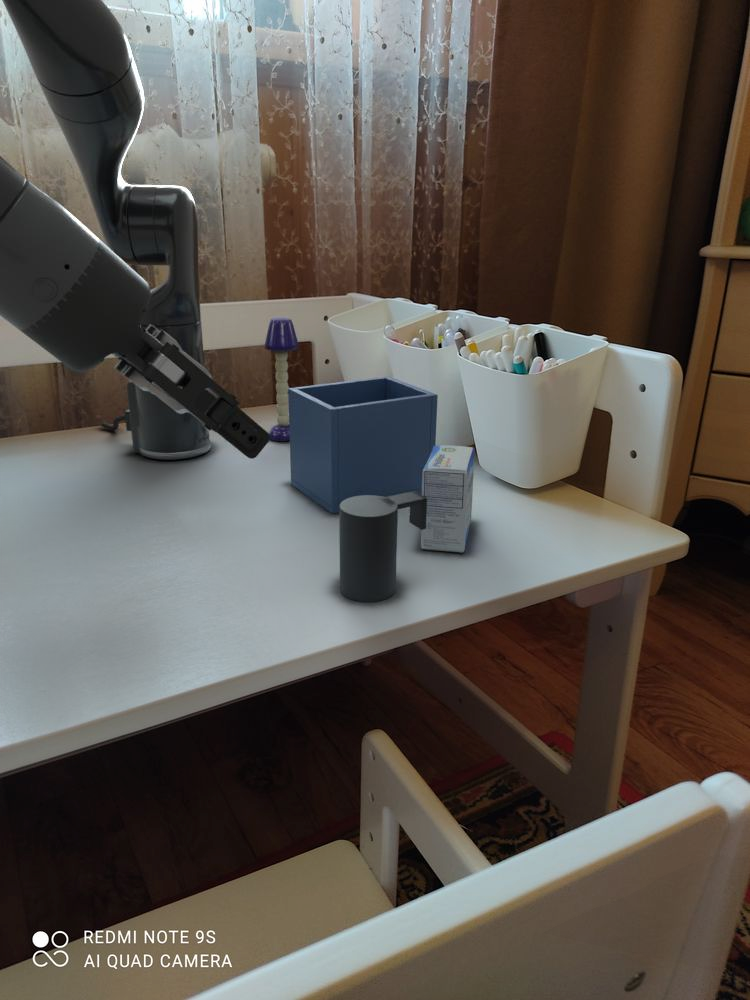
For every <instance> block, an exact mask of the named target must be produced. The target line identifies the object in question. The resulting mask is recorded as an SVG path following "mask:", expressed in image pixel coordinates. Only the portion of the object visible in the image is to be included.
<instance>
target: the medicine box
mask: <svg viewBox="0 0 750 1000" xmlns="http://www.w3.org/2000/svg"><path fill="white" fill-rule="evenodd" d="M475 451H476V450H475V448H474V447H472V446H463V445H453V444H452V445H450V444H448V445H447V444H441V445H438V444H437V445H435V446H434V448H433V450H432V453H431V455H430V457H429V459H428V461H427V464H426V466H425V468H424V469H423V475H422V495H423V496H424V497H426V498H427V513H426V529H424V530H421V529H420V548H421V549H423V550H427V551H437V552H449V553H460V554H463V553H464V552H465V549H466V545H467V541H468V536H469V533H470V532H469V531H470V528H471V522H472V511H473V491H474V490H473V489H474V474H475V473H474V472H475V457H476V456H475V453H476V452H475Z"/></svg>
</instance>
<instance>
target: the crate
mask: <svg viewBox="0 0 750 1000" xmlns="http://www.w3.org/2000/svg"><path fill="white" fill-rule="evenodd" d="M288 388H289V389H288V392H287V393H288V399H289V402H288V405H289V413H288V415H289V433H290V440H289V460H290V461H289V462H290V463H289V464H290V465H289V466H290V485H291V486H293V487H294V488H296V489H297V490H298V491H299V492H301V493H303V494H304V495H305V496H306V497H308V498H309V499H311V500H312V501H314V502H315V503H316V504H318V505H319V506H320V507H322V508H323V509H324V510H326V511H327V512H328V513H330V514H331V515H335V514H338V513H339V506H340V503H341V502H342V501H344V500H345V499H347V498H350V497H354V496H361V495H375V496H382V497H389V496H393V495H398V494H403V493H408V492H412V491H416V492H417V493H419V494H421V495H422V475H423V469H424V468H425V466H426V464H427V461H428V459H429V457H430V455H431V453H432V450H433V448H434V446H436V443H437V442H436V441H437V422H438V421H437V420H438V416H437V415H438V400H439V399H438V397H439V396H438V394H437V393H434V392H431V391H429V390H426V389H423V388H421V387H417V386H415V385H413V384H411V383H407V382H404V381H402V380H399V379H397V378H394V377H391V376H388V375H386V376H379V377H371V378H363V379H354V380H346V381H345V380H344V381H338V382H330V383H320V384H313V385H304V386H297V387H288Z"/></svg>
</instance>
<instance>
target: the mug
mask: <svg viewBox="0 0 750 1000" xmlns="http://www.w3.org/2000/svg"><path fill="white" fill-rule="evenodd" d="M407 508H409V518H408V519H409V520H408V521H409V524H411V525H413V526H414V527H416V528H417V529H419V530H420V531H421V530H424V529H426V513H427V498H426V497H424V496H423V495H421V494H419V493H417V492H416V491H412V492H408V493H403V494H398V495H393V496H389V497H382V496H375V495H361V496H354V497H350V498H347V499H345V500H344V501H342V502H341V503H340V506H339V512H338V513H339V591H340V592H341V594H342V595H343V596H344V597H346V598H347V599H350V600H352V601H357V602H362V603H363V602H364V603H365V602H366V603H370V602H371V603H373V602H379V601H384V600H386V599H388V598H390V597H392V596H393V595H394V594H395V592H396V590H397V589H396V588H397V558H398V557H397V556H398V552H397V551H398V522H399V521H398V516H399V515H398V514H399V510H402V509H407Z"/></svg>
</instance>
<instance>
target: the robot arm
mask: <svg viewBox="0 0 750 1000" xmlns="http://www.w3.org/2000/svg"><path fill="white" fill-rule="evenodd" d="M2 4H3V5H4V8H5V9H6V12H7V13H8V15H9V18H10V20H11V22H12V24H13V27H14V28H15V31H16V33H17V35H18V37H19V39H20V42H21V44H22V46H23V49H24V51H25V53H26V56H27V58H28V60H29V63H30V66H31V68H32V71H33V73H34V75H35V77H36V80H37V81H38V84H39V86H40V88H41V91H42V93H43V95H44V97H45V100H46V101H47V104H48V106H49V108H50V110H51V112H52V114H53V115H54V117H55V119H56V121H57V123H58V126H59V128H60V130H61V131H62V134H63V136H64V139H65V140H66V142H67V145H68V147H69V149H70V151H71V154H72V156H73V158H74V160H75V163H76V165H77V168H78V170H79V172H80V174H81V177H82V180H83V182H84V185H85V188H86V190H87V194H88V197H89V199H90V203H91V205H92V208H93V212H94V214H95V218H96V220H97V223H98V226H99V229H100V231H101V234H102V237H103V240H104V242H105V243H104V242H103V241H102V240H101V239H100V238H99V237H98V236H97V235H96V234H94V233H93V232H92V231H91V230H90V229H89V228H88V227H87V226H86V225H84V224H83V223H82V222H81V221H80V220H79V219H78V218H77V217H76V216H74V215H73V214H72V213H71V211H69V210H68V209H67V208H66V207H64V206H63V205H62V204H60V203H59V202H58V201H56V200H55V199H54V198H52V197H51V196H49V195H48V194H46V193H45V192H43V191H42V190H41V189H40V188H38V187H36V185H34V184H33V183H32V182H30V180H27V178H26V177H24V176H23V174H21V173H20V172H19V171H18V170H16V169H15V167H13V165H11V164H10V163H9V162H8V161H7V160H5V158H3V157H2V156H1V155H0V317H1V318H2V319H4V320H6V321H7V322H8V323H9V324H11V325H12V326H13V327H14V328H16V329H17V330H18V331H20V332H21V333H23V334H24V335H25V336H26V337H28V338H29V339H30V340H31V341H33V342H34V343H36V344H37V345H39V346H40V347H41V348H42V349H44V350H45V351H46V352H48V353H49V354H50V355H51V356H53V357H54V358H55V359H57V360H58V361H59V362H61V363H62V364H63V365H65V366H66V367H67V368H69V369H70V370H72V371H74V372H79V373H80V372H81V373H82V372H86V371H89V370H92V369H94V368H95V367H97V366H98V365H101V363H103V362H104V361H105V358H107V357H109V356H110V355H112V356H113V357H115V358H116V359H117V360H119V361H118V362H117V363H116V364H115V366H114V367H113V368H114V369H115V370H116V371H117V372H119V374H121V375H122V376H123V377H125V378H126V379H127V380H128V381H127V382H126V386H125V387H126V396H127V404H128V409H126V410H125V411H124V414H121V415H119V416H116V417H115V418H114V419H113V421H112V424H110V423H108V422H105V421H102V422H101V423H100V426H101V427H102V428H105V429H107V430H110V431H117V430H118V429H119V424H120V422H123V421H125V429H126V431H127V432H131V433H130V434H131V441H132V442H131V443H132V449H133V450H132V451H133V453H134V454H140V455H142V456H144V457H146V458H149V459H155V460H162V461H163V460H164V461H166V460H167V461H170V460H171V461H172V460H184V459H190V458H194V457H198V456H201V455H203V454H206V453H207V452H208V451H210V449H211V447H212V446H211V439H210V431H212V432H215V433H216V434H218V435H219V436H220V437H221V438H223V439H224V440H225V441H226V442H228V443H229V444H230V445H232V447H234V448H235V449H237V450H238V451H239V452H240V453H241V454H243V455H244V456H245V457H247V458H248V459H255V458H257V457H258V456H259V455H260V454H261V451H262V450H264V448H265V447H266V446H267V444H268V443H269V442H270V440H271V439H270V435H269V432H268V431H267V430H266V429H264V428H263V427H262V426H260V424H258V423H257V422H256V420H254V419H253V418H251V417H250V416H249V415H248V414H247V413H246V412H244V410H242V409H241V408H240V407H239V406H240V404H241V403H240V402H239V400H237V397H236V395H234V394H233V393H231V392H230V393H229V392H228V391H226V390H225V389H224V388H223V387H222V386H221V385H220V384H218V383H217V382H216V381H215V380H214V379H213V376H212V374H211V373H210V372H209V370H208V369H207V368H206V367H205V355H204V342H203V341H204V340H203V327H202V313H201V293H200V291H201V290H200V273H199V271H200V269H199V225H198V224H199V223H198V214H197V207H196V203H195V200H194V197H193V196H192V193H191V192H190V191H189V189H187V187H184V186H180V185H163V184H162V185H160V184H159V185H158V184H157V185H155V184H153V185H152V184H129V183H127V182H126V181H125V180H124V179H123V177H122V174H121V170H122V165H123V162H124V160H125V157H126V155H127V153H128V150H129V148H130V146H131V144H132V142H133V141H134V138H135V136H136V134H137V132H138V128H139V126H140V124H141V120H142V117H143V113H144V107H145V94H144V88H143V85H142V81H141V78H140V75H139V72H138V69H137V65H136V62H135V59H134V56H133V52H132V49H131V46H130V43H129V40H128V38H127V35H126V33H125V30H124V29H123V27H122V25H121V24H120V22H119V20H118V19H117V17H116V16H115V15H114V14H113V12H112V11H111V10H110V9H109V7H108V5H106V4H105V2H104V1H103V0H2ZM131 266H168V272H167V276H166V279H165V280H164V281H163V282H161V283H160V284H159V285H157V286H155V287H154V288H152V289H151V287H150V285H149V283H148V282H147V281H146V280H145V278H143V277H142V276H141V275H140V274H139V273H138V272H136V271H135V269H133V268H132V267H131ZM262 452H263V451H262Z"/></svg>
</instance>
